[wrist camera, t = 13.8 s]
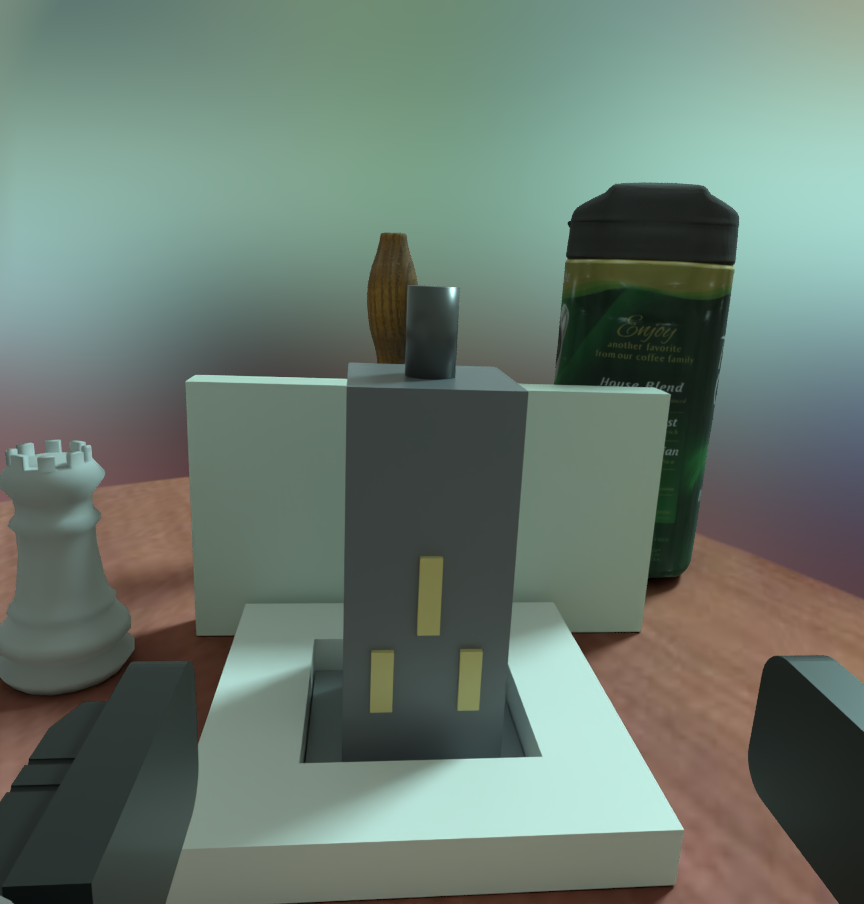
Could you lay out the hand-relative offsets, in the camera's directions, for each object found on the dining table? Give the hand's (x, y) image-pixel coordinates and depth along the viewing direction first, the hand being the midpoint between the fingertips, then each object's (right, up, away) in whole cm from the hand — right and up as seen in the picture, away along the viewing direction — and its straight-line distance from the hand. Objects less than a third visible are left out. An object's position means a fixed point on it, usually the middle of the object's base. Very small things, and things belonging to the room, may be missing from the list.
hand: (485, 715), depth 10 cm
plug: (-1, -5, +13) cm, 14 cm away
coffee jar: (+9, -2, +29) cm, 30 cm away
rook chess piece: (-14, -4, +16) cm, 21 cm away
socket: (0, -5, +14) cm, 15 cm away
